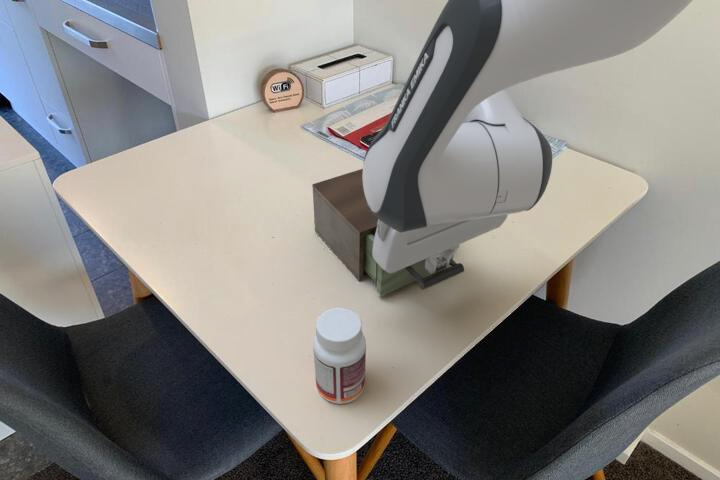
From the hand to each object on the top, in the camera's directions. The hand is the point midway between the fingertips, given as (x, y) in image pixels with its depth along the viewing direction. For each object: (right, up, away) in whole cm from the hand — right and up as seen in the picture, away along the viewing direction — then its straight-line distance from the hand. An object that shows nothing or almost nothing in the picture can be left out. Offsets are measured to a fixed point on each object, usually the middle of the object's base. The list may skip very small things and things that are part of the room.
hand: (436, 267), depth 73 cm
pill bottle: (-13, -14, -8) cm, 21 cm away
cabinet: (-8, +4, +15) cm, 17 cm away
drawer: (-4, 0, +9) cm, 9 cm away
